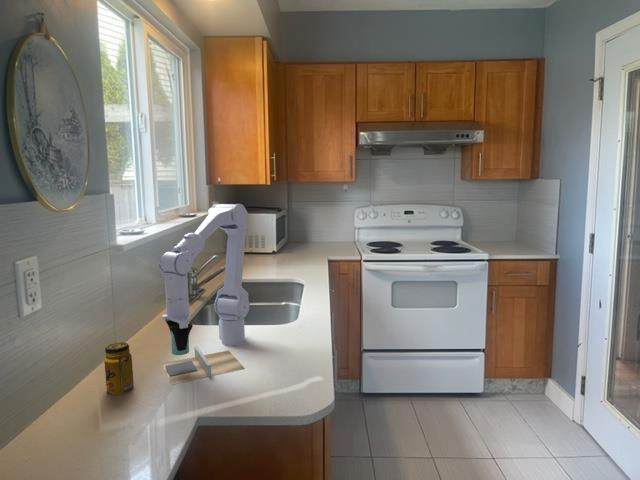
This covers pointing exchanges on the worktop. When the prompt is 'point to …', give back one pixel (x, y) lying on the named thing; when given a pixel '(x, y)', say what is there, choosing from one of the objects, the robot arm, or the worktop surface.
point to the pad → (181, 368)
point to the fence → (203, 361)
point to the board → (218, 362)
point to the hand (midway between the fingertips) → (179, 347)
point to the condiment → (118, 368)
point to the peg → (174, 348)
